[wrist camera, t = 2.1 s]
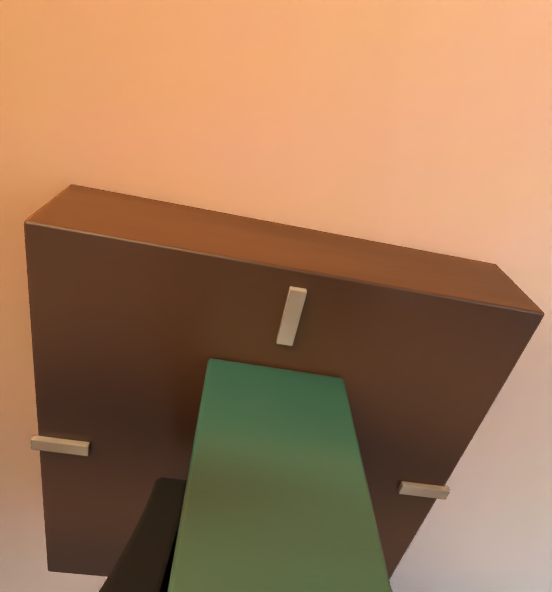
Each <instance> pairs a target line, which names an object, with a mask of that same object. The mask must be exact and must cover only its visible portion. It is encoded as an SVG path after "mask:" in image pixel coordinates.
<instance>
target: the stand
mask: <svg viewBox="0 0 552 592" xmlns="http://www.w3.org/2000/svg"><path fill="white" fill-rule="evenodd" d="M24 232H25V246H26V261H27V275H28V289H29V304H30V318H31V333H32V347H33V361H34V376H35V390H36V405H37V419H38V433H39V436H36V435H33V437H32V439H31V448H32V449H33V450H40V462H41V477H42V491H43V505H44V520H45V534H46V549H47V563H48V571H52V572H63V573H74V574H85V575H96V576H107V577H108V576H109V575H110V573H111V571H112V570H113V568H114V566H115V564H116V562H117V561H118V559H119V557H120V555H121V553H122V552H123V550H124V548H125V546H126V544H127V543H128V541H129V539H130V537H131V535H132V533H133V531H134V529H135V527H136V525H137V523H138V521H139V520H140V517H141V515H142V513H143V511H144V509H145V507H146V504H147V502H148V500H149V497H150V495H151V492H152V490H153V487H154V484H155V481H156V480H157V479H159V478H161V477H163V478H172V479H180V480H187V477H188V471H189V466H190V460H191V454H192V448H193V443H194V437H195V431H196V425H197V420H198V414H199V408H200V403H201V397H202V391H203V385H204V380H205V374H206V368H207V363H208V360H209V359H211V358H213V359H220V360H227V361H233V362H240V363H247V364H253V365H260V366H267V367H273V368H280V369H287V370H293V371H300V372H307V373H313V374H320V375H326V376H333V377H340V378H343V379H344V383H345V387H346V391H347V396H348V400H349V405H350V409H351V414H352V418H353V422H354V427H355V431H356V436H357V440H358V444H359V449H360V453H361V458H362V462H363V467H364V471H365V475H366V480H367V484H368V489H369V493H370V498H371V502H372V506H373V511H374V515H375V520H376V524H377V528H378V533H379V537H380V542H381V546H382V551H383V555H384V559H385V564H386V568H387V573H388V577H389V579H390V577H391V576H392V574H393V572H394V571H395V569H396V567H397V565H398V564H399V562H400V560H401V559H402V557H403V555H404V553H405V552H406V550H407V548H408V547H409V545H410V543H411V542H412V540H413V538H414V536H415V535H416V533H417V531H418V530H419V528H420V526H421V525H422V523H423V521H424V519H425V518H426V516H427V514H428V513H429V511H430V509H431V507H432V506H433V504H434V502H435V501H436V499H437V498H438V499H446V498H447V496H448V494H449V493H450V490H449V487H445V486H444V485H445V484H446V482H447V480H448V479H449V477H450V475H451V473H452V472H453V470H454V468H455V467H456V465H457V463H458V461H459V460H460V458H461V456H462V455H463V453H464V451H465V450H466V448H467V446H468V444H469V443H470V441H471V439H472V438H473V436H474V434H475V433H476V431H477V429H478V427H479V426H480V424H481V422H482V421H483V419H484V417H485V415H486V414H487V412H488V410H489V409H490V407H491V405H492V404H493V402H494V400H495V398H496V397H497V395H498V393H499V392H500V390H501V388H502V386H503V385H504V383H505V381H506V380H507V378H508V376H509V375H510V373H511V371H512V369H513V368H514V366H515V364H516V363H517V361H518V359H519V358H520V356H521V354H522V352H523V351H524V349H525V347H526V346H527V344H528V342H529V340H530V339H531V337H532V335H533V334H534V332H535V330H536V329H537V327H538V325H539V323H540V322H541V320H542V318H543V317H544V312H543V311H542V310H541V309H540V308H539V307H538V306H537V305H536V304H535V303H534V302H533V301H532V300H531V299H530V298H529V297H528V296H527V295H526V294H525V293H524V292H523V291H522V290H521V289H520V288H519V287H518V286H517V285H516V284H515V283H514V282H513V281H512V280H511V279H510V278H509V277H508V276H507V275H506V274H505V273H504V272H503V271H502V270H501V269H500V268H499V267H498V266H497V265H496V264H491V263H485V262H480V261H475V260H470V259H464V258H459V257H454V256H448V255H443V254H438V253H432V252H427V251H422V250H417V249H411V248H406V247H401V246H395V245H390V244H385V243H379V242H374V241H369V240H364V239H358V238H353V237H348V236H342V235H337V234H332V233H326V232H321V231H316V230H311V229H305V228H300V227H295V226H289V225H284V224H279V223H273V222H268V221H263V220H258V219H252V218H247V217H242V216H236V215H231V214H226V213H220V212H215V211H210V210H205V209H199V208H194V207H189V206H183V205H178V204H173V203H167V202H162V201H157V200H152V199H146V198H141V197H136V196H130V195H125V194H120V193H114V192H109V191H104V190H99V189H93V188H88V187H83V186H77V185H70V186H68V187H67V188H66V189H65V190H63V191H62V192H61V193H59V194H58V195H57V196H56V197H54V198H53V199H52V200H51V201H49V202H48V203H47V204H45V205H44V206H43V207H42V208H40V209H39V210H38V211H36V212H35V213H34V214H33V215H31V216H30V217H29V218H28V219H26V220H25V222H24Z"/></svg>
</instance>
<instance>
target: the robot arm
mask: <svg viewBox="0 0 552 592" xmlns="http://www.w3.org/2000/svg"><path fill="white" fill-rule="evenodd" d="M186 483H187V480H180V479H172V478H163V477H161V478H159V479H157V480H156V481H155V484H154V487H153V490H152V492H151V495H150V497H149V500H148V502H147V504H146V507H145V509H144V511H143V513H142V515H141V517H140V520H139V521H138V523H137V525H136V527H135V529H134V531H133V533H132V535H131V537H130V539H129V541H128V543H127V544H126V546H125V548H124V550H123V552H122V553H121V555H120V557H119V559H118V561H117V562H116V564H115V566H114V568H113V570H112V571H111V573H110V575H109V576H108V578H107V580H106V581H105V583H104V584H103V586H102V588H101V589H100V591H99V592H167V591H168V586H169V580H170V574H171V568H172V563H173V557H174V551H175V546H176V540H177V534H178V528H179V523H180V517H181V511H182V506H183V500H184V494H185V488H186Z"/></svg>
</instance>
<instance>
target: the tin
mask: <svg viewBox="0 0 552 592" xmlns="http://www.w3.org/2000/svg"><path fill="white" fill-rule="evenodd" d="M167 592H392V590H391V586H390V581H389V577H388V573H387V568H386V564H385V559H384V555H383V551H382V546H381V542H380V537H379V533H378V528H377V524H376V520H375V515H374V511H373V506H372V502H371V498H370V493H369V489H368V484H367V480H366V475H365V471H364V467H363V462H362V458H361V453H360V449H359V444H358V440H357V436H356V431H355V427H354V422H353V418H352V414H351V409H350V405H349V400H348V396H347V391H346V387H345V383H344V379H343V378H340V377H333V376H326V375H320V374H313V373H307V372H300V371H293V370H287V369H280V368H273V367H267V366H260V365H253V364H247V363H240V362H233V361H227V360H220V359H213V358H211V359H209V360H208V363H207V368H206V374H205V380H204V385H203V391H202V397H201V403H200V408H199V414H198V420H197V425H196V431H195V437H194V443H193V448H192V454H191V460H190V466H189V471H188V477H187V483H186V488H185V494H184V500H183V506H182V511H181V517H180V523H179V528H178V534H177V540H176V546H175V551H174V557H173V563H172V568H171V574H170V580H169V586H168V591H167Z"/></svg>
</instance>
